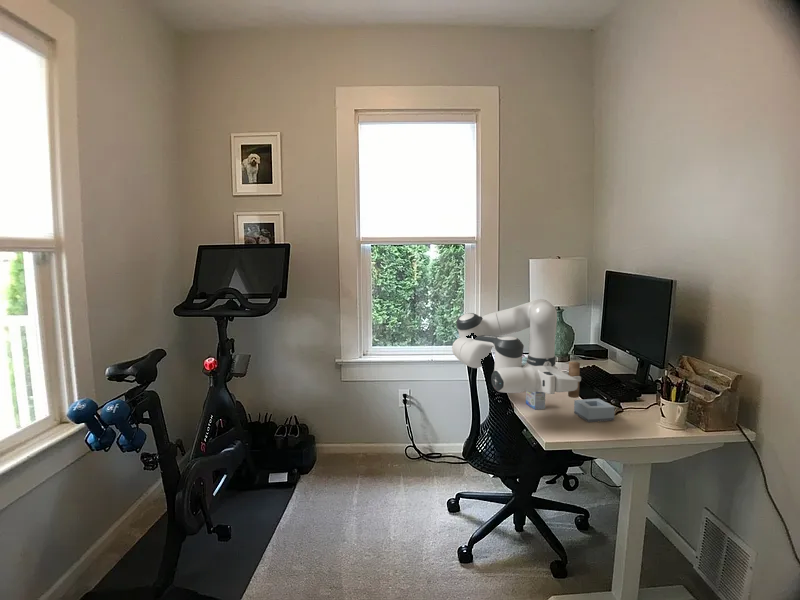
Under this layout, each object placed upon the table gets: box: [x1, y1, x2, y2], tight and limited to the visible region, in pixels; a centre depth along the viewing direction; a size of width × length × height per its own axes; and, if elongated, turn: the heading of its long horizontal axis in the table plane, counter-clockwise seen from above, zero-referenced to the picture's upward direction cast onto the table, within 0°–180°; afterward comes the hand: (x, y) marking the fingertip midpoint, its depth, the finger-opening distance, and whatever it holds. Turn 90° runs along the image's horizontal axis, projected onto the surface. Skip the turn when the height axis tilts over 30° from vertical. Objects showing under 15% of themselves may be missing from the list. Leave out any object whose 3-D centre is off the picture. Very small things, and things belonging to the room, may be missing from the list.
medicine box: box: [525, 391, 546, 411], centre depth 189 cm, size 8×4×9 cm, turn 12°
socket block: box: [573, 398, 615, 423], centre depth 177 cm, size 10×10×5 cm
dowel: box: [567, 361, 581, 399], centre depth 169 cm, size 4×4×12 cm
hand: (576, 376), depth 169 cm, fingers closed on dowel, 4 cm apart
